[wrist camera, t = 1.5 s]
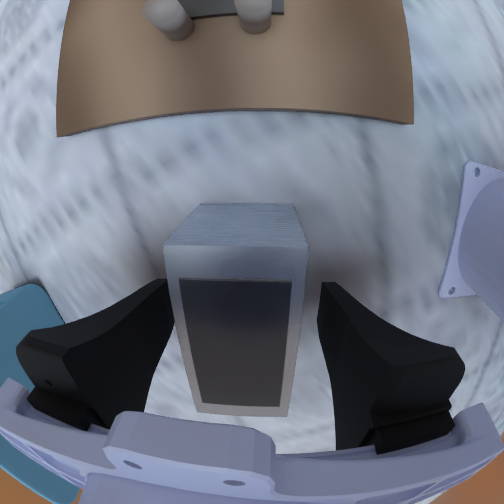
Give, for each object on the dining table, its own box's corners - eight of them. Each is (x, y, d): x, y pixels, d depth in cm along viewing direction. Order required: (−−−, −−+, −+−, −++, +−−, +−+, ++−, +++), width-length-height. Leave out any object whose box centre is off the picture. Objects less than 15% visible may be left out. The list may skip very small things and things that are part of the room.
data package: (12, 284, 15) (-80, 377, 4) (39, 274, 14) (-74, 388, 3) (86, 394, 19) (37, 493, 8) (120, 397, 19) (72, 513, 8)
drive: (292, 203, 12) (309, 248, 7) (283, 344, 15) (287, 418, 10) (201, 202, 12) (160, 246, 7) (213, 341, 15) (196, 413, 10)
